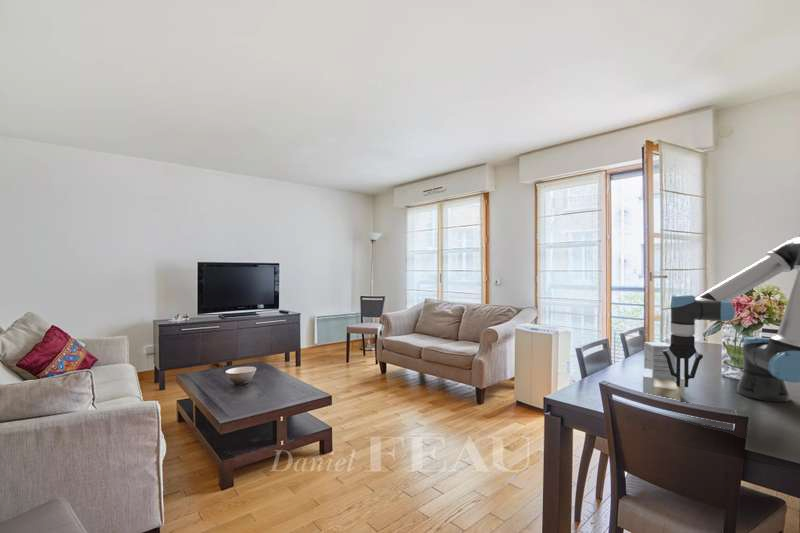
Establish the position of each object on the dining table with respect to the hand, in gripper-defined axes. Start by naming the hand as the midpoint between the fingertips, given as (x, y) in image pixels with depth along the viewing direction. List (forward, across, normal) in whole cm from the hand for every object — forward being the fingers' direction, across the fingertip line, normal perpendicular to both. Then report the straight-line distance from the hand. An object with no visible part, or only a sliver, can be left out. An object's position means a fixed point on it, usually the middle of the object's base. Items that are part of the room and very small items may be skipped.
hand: (682, 394), depth 151 cm
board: (+1, +11, -1) cm, 11 cm away
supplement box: (+2, +7, -20) cm, 21 cm away
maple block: (+2, +5, -1) cm, 6 cm away
